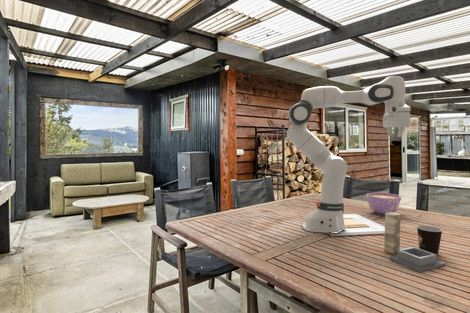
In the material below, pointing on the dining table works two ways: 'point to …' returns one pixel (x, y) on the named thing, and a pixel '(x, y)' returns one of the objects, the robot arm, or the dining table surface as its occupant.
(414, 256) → the grey stepped tray
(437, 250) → the coffee mug
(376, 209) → the bowl of food
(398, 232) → the beige wooden block
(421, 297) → the dining table surface
